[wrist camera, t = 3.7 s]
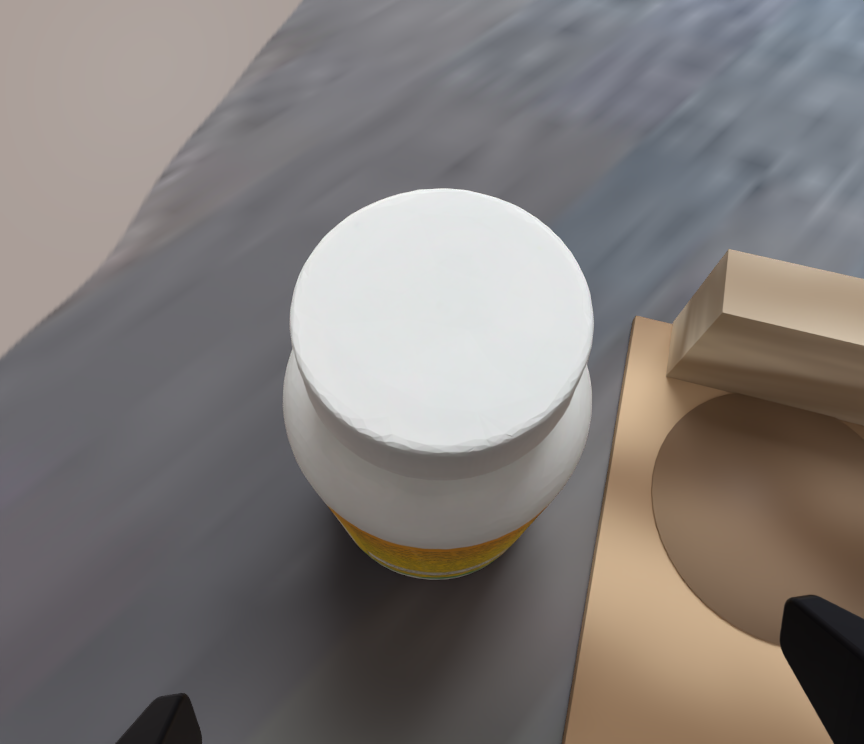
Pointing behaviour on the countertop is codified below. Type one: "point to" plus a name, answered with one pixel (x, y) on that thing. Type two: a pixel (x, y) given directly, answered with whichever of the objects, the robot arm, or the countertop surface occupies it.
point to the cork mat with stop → (725, 510)
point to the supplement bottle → (439, 377)
